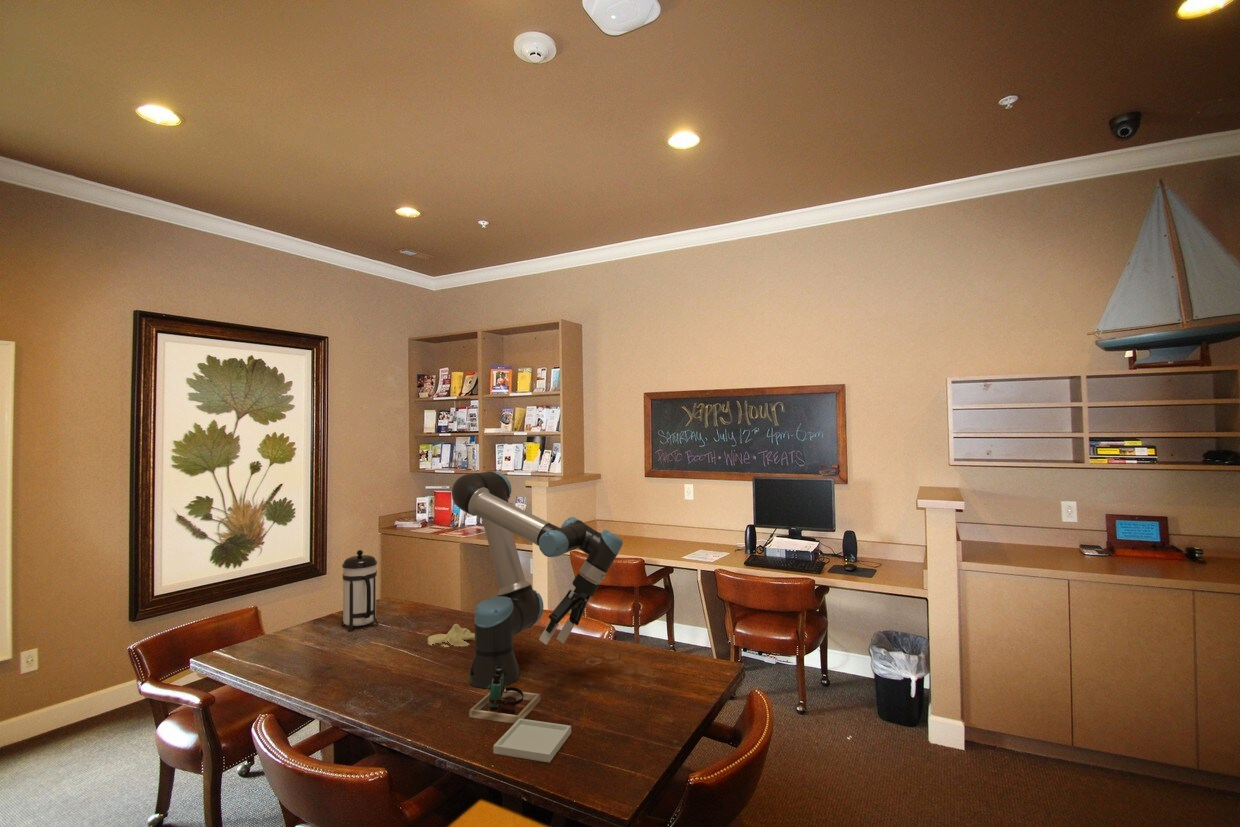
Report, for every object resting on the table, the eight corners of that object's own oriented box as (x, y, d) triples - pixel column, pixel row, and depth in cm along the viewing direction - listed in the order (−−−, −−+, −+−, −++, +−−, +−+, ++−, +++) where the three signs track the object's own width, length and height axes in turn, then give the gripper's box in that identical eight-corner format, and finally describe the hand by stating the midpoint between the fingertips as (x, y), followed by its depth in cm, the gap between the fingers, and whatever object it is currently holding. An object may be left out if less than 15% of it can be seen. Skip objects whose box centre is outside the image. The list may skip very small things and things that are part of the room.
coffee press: (328, 632, 221) (328, 554, 222) (354, 618, 237) (354, 546, 238) (369, 634, 218) (369, 555, 219) (392, 620, 234) (392, 546, 235)
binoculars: (524, 678, 153) (486, 676, 153) (520, 718, 153) (483, 717, 152) (527, 665, 162) (491, 663, 162) (523, 703, 162) (487, 701, 161)
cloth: (416, 643, 209) (416, 626, 210) (457, 628, 225) (457, 613, 225) (456, 656, 197) (456, 638, 197) (496, 639, 212) (496, 623, 212)
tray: (493, 753, 135) (493, 745, 135) (519, 725, 148) (519, 718, 148) (549, 762, 131) (549, 754, 131) (571, 733, 144) (571, 725, 144)
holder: (469, 717, 153) (469, 710, 153) (494, 694, 166) (494, 688, 166) (518, 724, 148) (518, 717, 149) (540, 700, 161) (540, 694, 162)
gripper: (585, 582, 162) (545, 650, 159) (610, 588, 185) (575, 647, 181) (564, 568, 165) (524, 634, 162) (591, 575, 188) (557, 633, 184)
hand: (551, 641), depth 172 cm, fingers open, 13 cm apart
